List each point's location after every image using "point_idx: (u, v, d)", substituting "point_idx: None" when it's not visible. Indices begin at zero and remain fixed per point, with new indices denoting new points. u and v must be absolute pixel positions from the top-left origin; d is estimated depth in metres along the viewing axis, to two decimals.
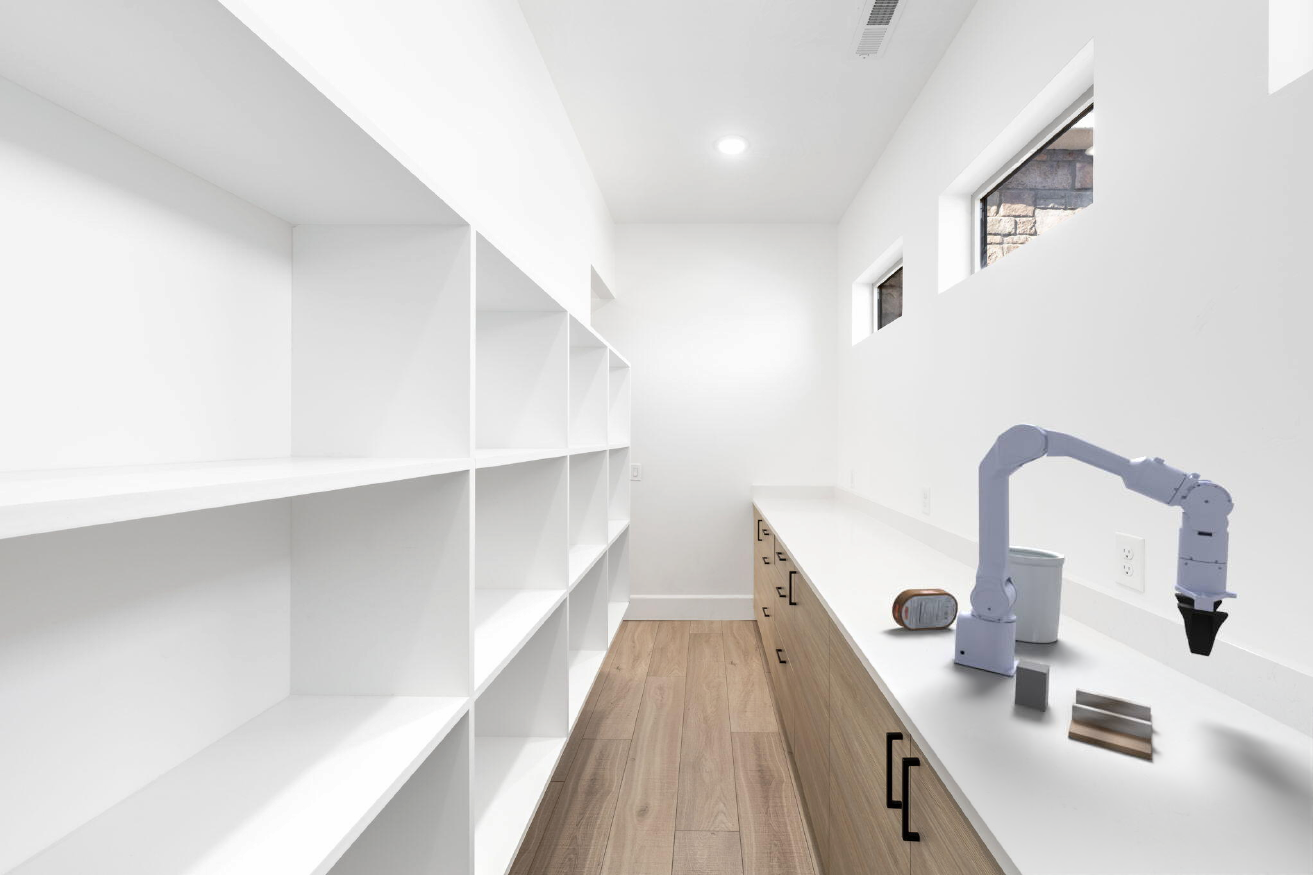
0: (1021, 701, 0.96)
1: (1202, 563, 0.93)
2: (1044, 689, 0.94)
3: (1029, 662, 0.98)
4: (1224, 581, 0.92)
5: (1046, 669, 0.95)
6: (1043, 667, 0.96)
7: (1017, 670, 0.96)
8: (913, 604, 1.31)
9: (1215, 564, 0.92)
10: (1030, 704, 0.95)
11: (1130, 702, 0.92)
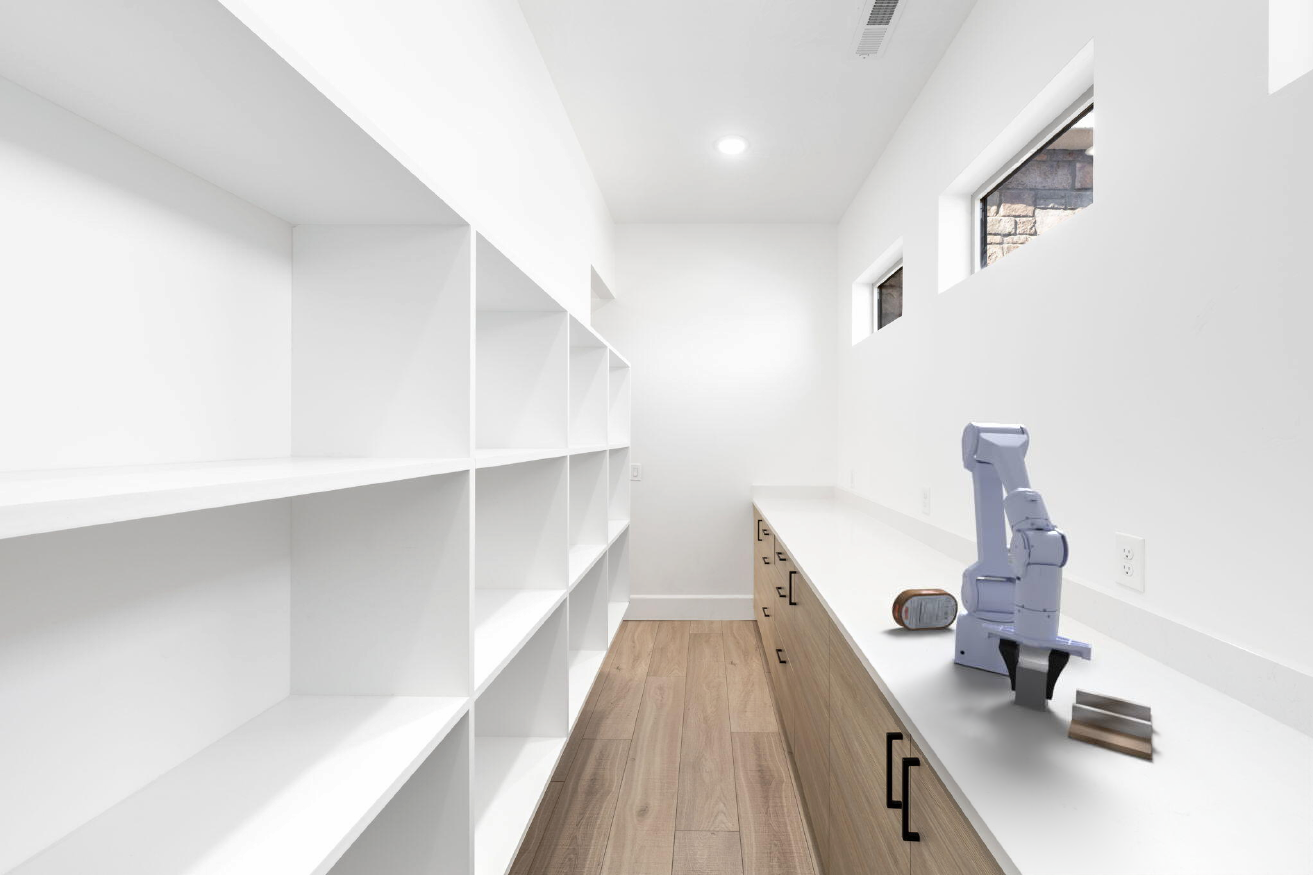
0: (1021, 701, 0.96)
1: None
2: (1044, 689, 0.94)
3: (1029, 662, 0.98)
4: (1023, 625, 0.95)
5: (1046, 669, 0.95)
6: (1043, 667, 0.96)
7: (1017, 670, 0.96)
8: (913, 605, 1.31)
9: (1015, 606, 0.97)
10: (1030, 704, 0.95)
11: (1130, 702, 0.92)
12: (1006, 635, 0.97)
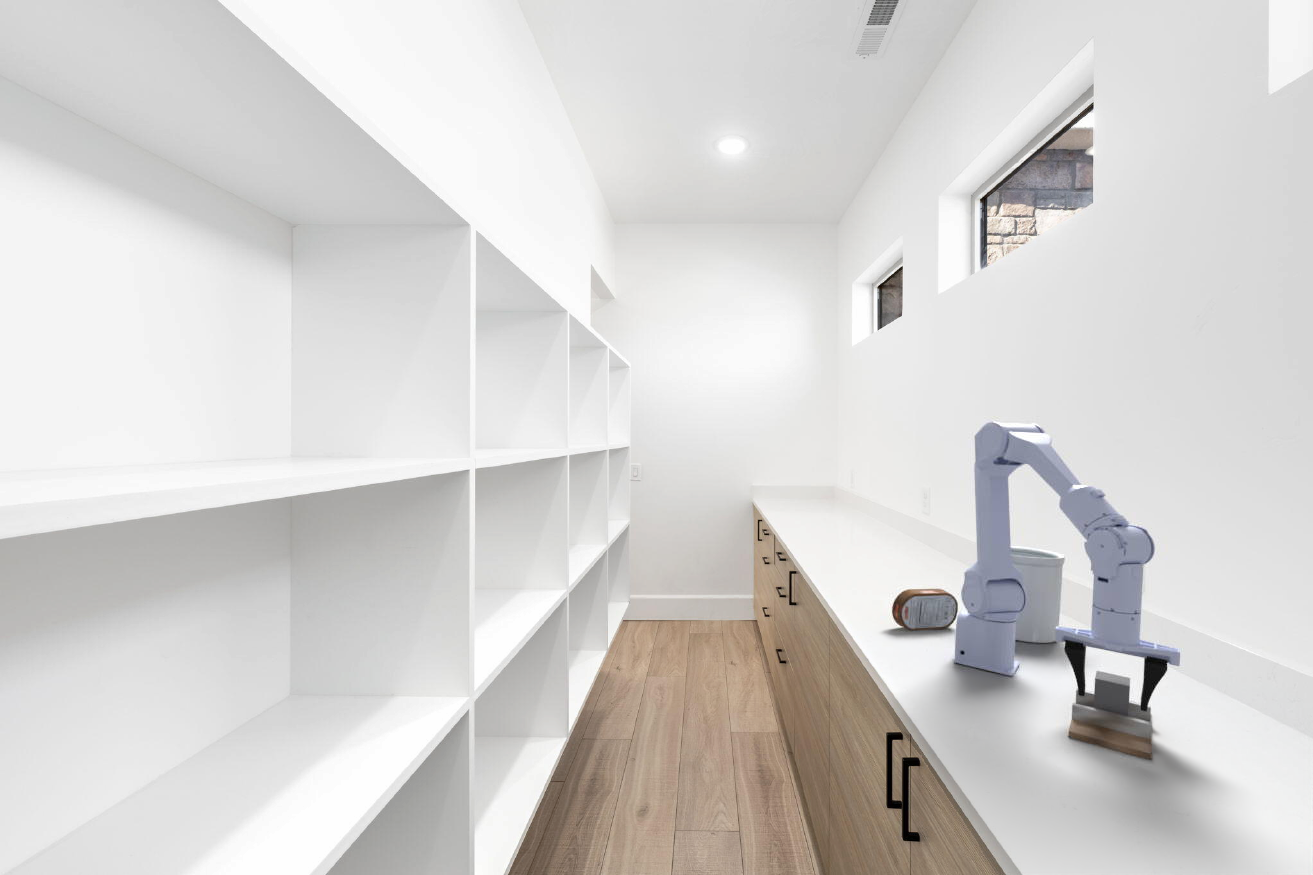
0: None
1: (1092, 605, 0.92)
2: (1127, 703, 0.88)
3: (1107, 674, 0.92)
4: (1103, 628, 0.89)
5: (1128, 682, 0.89)
6: (1124, 680, 0.90)
7: (1096, 683, 0.90)
8: (913, 604, 1.31)
9: (1094, 607, 0.91)
10: None
11: (1130, 702, 0.92)
12: (1084, 639, 0.91)
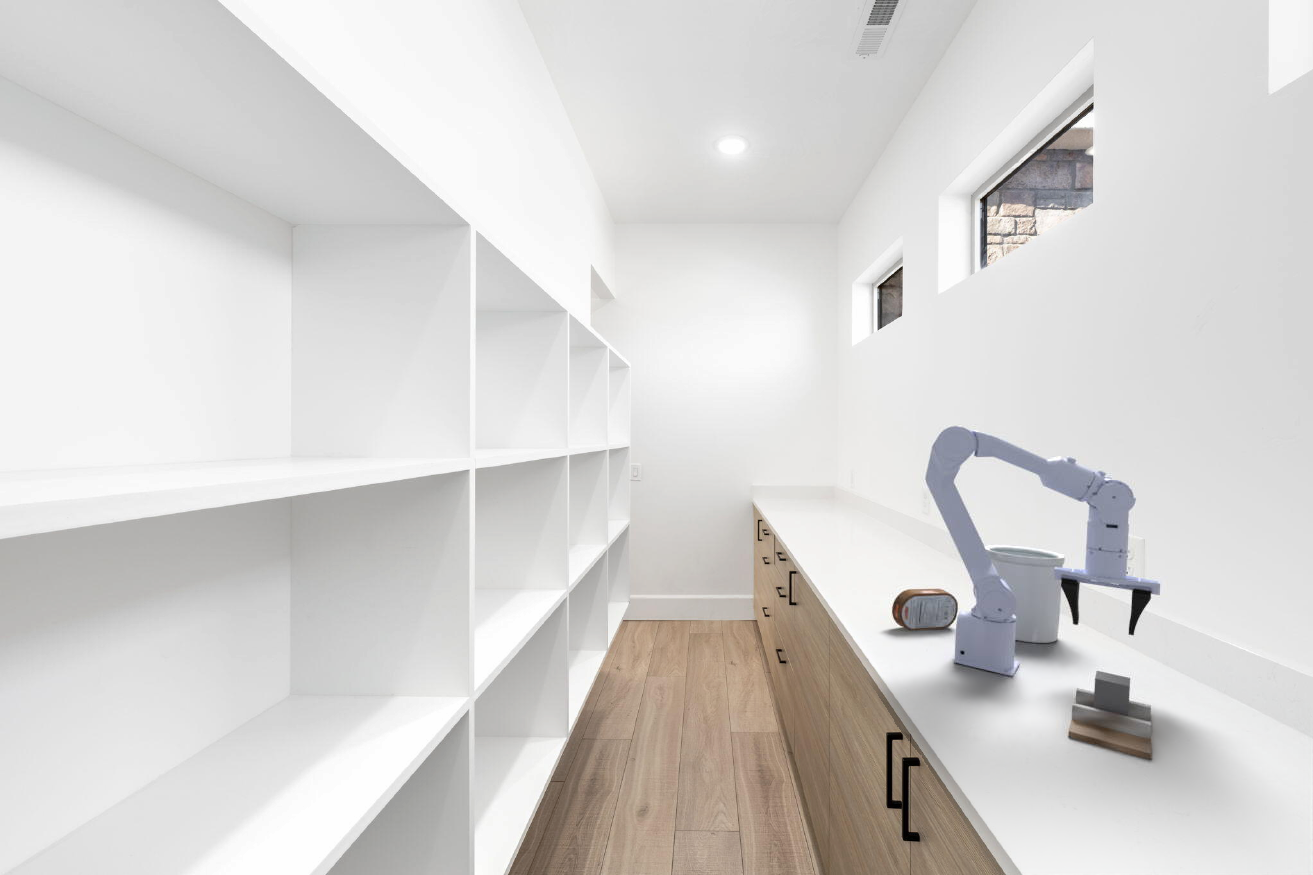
0: None
1: (1086, 547, 1.07)
2: (1127, 703, 0.88)
3: (1107, 674, 0.92)
4: (1095, 565, 1.04)
5: (1128, 682, 0.89)
6: (1124, 680, 0.90)
7: (1096, 683, 0.90)
8: (913, 604, 1.31)
9: (1088, 548, 1.06)
10: None
11: (1130, 702, 0.92)
12: (1079, 575, 1.06)
